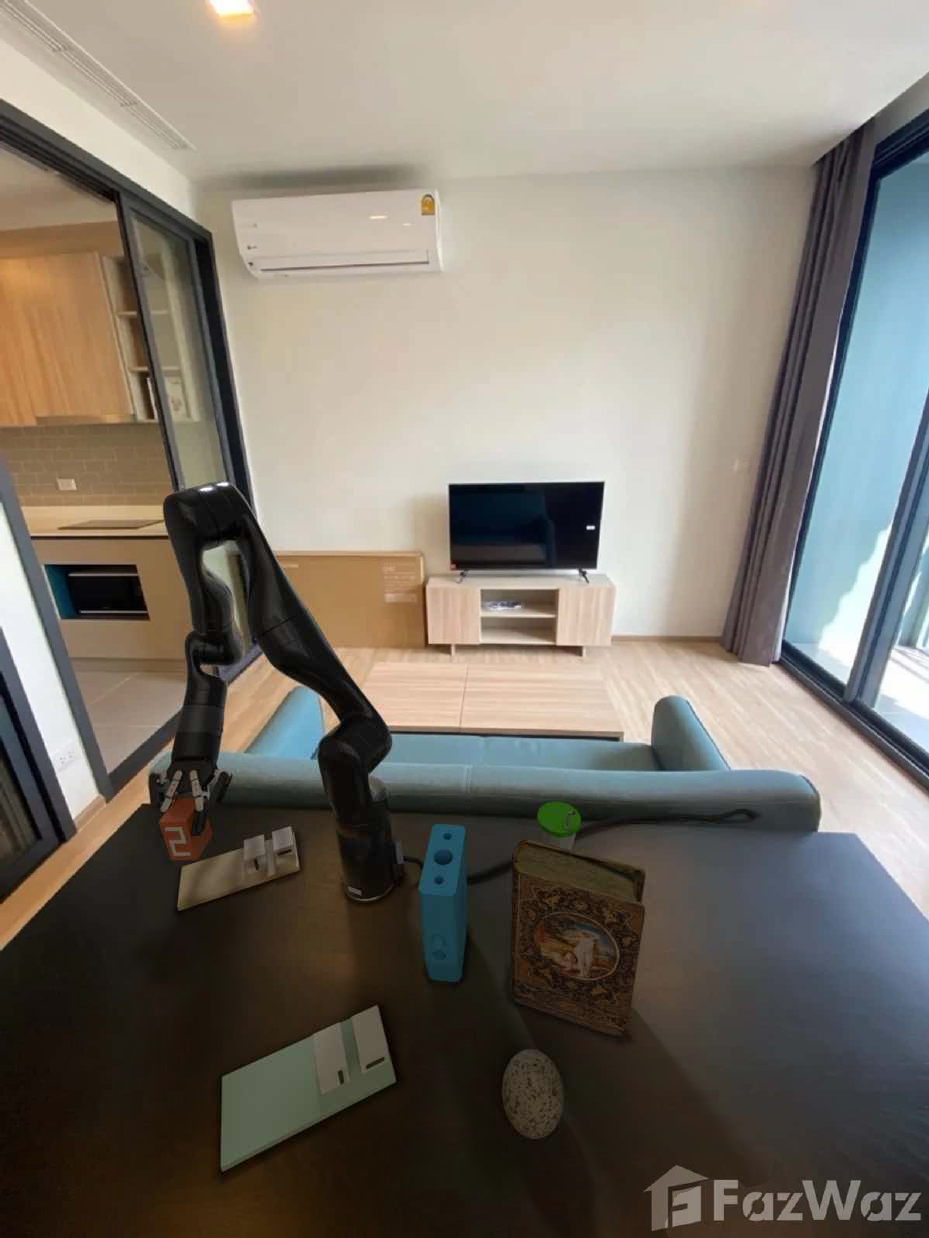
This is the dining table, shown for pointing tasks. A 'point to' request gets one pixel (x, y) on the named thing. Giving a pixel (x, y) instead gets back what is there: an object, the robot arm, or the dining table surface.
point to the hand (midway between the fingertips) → (180, 835)
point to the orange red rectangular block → (183, 831)
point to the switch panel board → (302, 1085)
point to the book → (575, 934)
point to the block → (444, 903)
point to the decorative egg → (532, 1094)
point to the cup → (558, 824)
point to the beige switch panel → (239, 868)
